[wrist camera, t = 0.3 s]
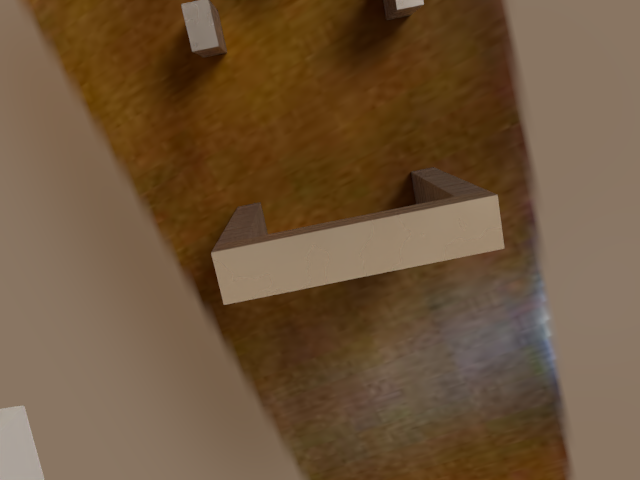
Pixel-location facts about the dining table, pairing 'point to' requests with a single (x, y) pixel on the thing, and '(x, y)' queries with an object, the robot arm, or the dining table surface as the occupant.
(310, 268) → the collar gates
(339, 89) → the dining table surface
